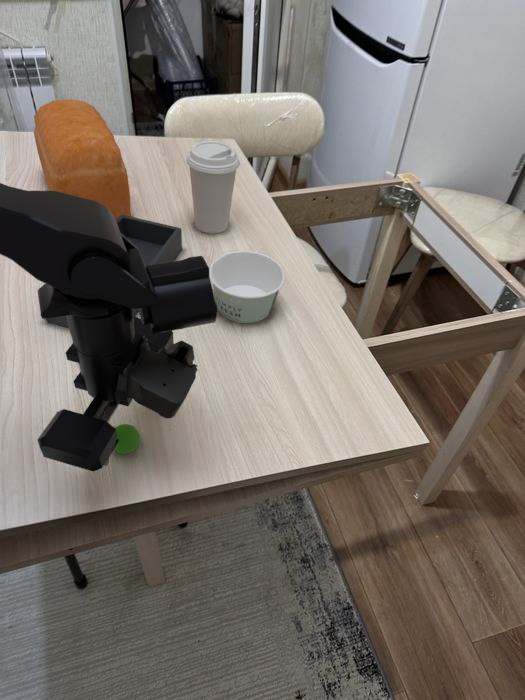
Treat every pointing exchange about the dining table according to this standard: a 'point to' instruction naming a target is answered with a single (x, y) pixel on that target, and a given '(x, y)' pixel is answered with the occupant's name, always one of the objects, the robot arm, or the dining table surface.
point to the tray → (145, 246)
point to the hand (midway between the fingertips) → (122, 431)
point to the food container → (246, 285)
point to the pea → (126, 438)
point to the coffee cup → (212, 184)
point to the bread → (81, 155)
